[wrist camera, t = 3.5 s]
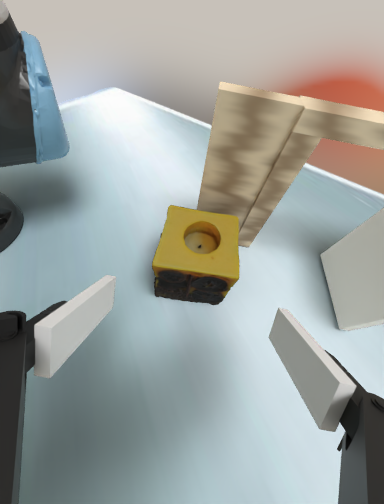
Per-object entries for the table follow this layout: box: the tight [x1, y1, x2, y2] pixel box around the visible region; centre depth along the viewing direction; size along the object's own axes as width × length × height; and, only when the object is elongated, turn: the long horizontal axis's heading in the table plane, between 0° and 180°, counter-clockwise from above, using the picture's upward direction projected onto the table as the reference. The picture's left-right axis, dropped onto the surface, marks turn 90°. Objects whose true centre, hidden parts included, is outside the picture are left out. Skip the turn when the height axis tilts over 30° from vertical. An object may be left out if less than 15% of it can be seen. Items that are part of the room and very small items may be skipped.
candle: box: [152, 205, 239, 305], centre depth 27 cm, size 10×10×10 cm
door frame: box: [197, 82, 384, 247], centre depth 27 cm, size 40×3×22 cm, turn 81°
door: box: [320, 208, 384, 331], centre depth 25 cm, size 14×3×16 cm, turn 171°
